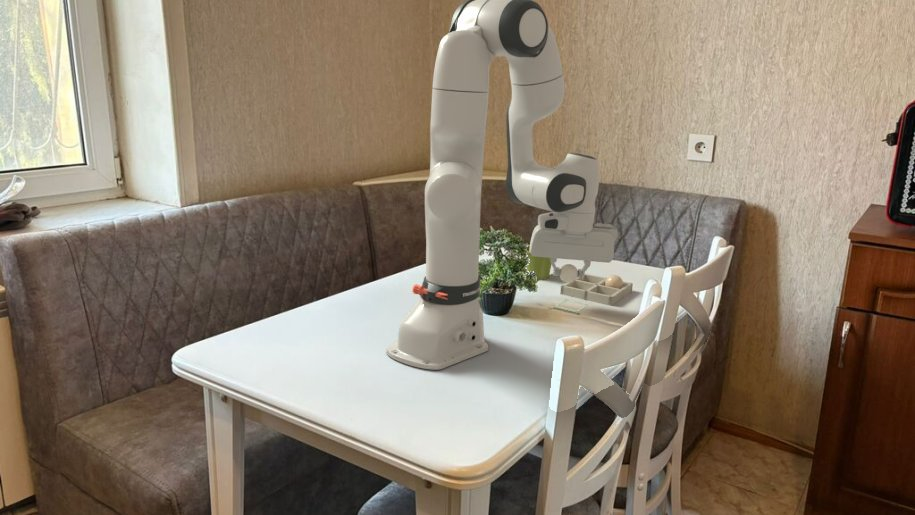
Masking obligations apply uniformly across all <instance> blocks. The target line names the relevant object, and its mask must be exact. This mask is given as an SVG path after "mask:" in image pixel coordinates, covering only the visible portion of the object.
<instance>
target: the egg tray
mask: <svg viewBox="0 0 915 515" xmlns="http://www.w3.org/2000/svg"><path fill="white" fill-rule="evenodd" d="M607 278H608V277H604V276H599V275H594V274H591V273H585V274H584V278H578V277H577V279H576V280H575V281H574V282H571V283H566V282H564V283H563V284H562V285H560V295H562V296H567V297H571V298H575V299H579V300H585V301H587V302H593V303H597V304H602V305H606V306H609V307H610V306H611V307H612V306H613V305H615V304H616V303H617V302H620V301H621V300H622V299H624V298H625V297H626V296H628V295H629V294H630V293H632V292H633V283H632V282H627V281H623V287H622V288H621V289H617V288H613V287H608V286H605V281H606V279H607Z"/></svg>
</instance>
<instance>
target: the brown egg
mask: <svg viewBox="0 0 915 515" xmlns="http://www.w3.org/2000/svg"><path fill="white" fill-rule="evenodd" d="M606 278H607V279H606V281H605V286H608V287H613V288H617V289H621V288H622V287H623V282H624V281H623V279H622V277H620V276H619V275H617V274H611V275H609V276H608V277H606Z"/></svg>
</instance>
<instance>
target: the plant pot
mask: <svg viewBox="0 0 915 515" xmlns="http://www.w3.org/2000/svg"><path fill="white" fill-rule="evenodd" d="M526 246H528V247H527V255H528V257H529V258H530V263H529V265H528V267H527V270H528V271H529V272H530V271H534V272H536V276H537V281H536V282H540V281H541V280H547V279H549V278H550V275H551V274H550V273H551V269H552V264H551V262H550V258H547V257H535V256H532V255H531V253H530V251H529V248H530V244H528V245H526Z"/></svg>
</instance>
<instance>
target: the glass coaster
mask: <svg viewBox="0 0 915 515" xmlns="http://www.w3.org/2000/svg"><path fill="white" fill-rule="evenodd" d="M567 301H568V302H571V303H576V304H581V305H583V306H582V307H580V308H578V309H572V308H567V307H563V306H560V305H562V304H563V303H565V302H567ZM588 306H589V304H588V303H583V302H579V301H574V300H570V299H565V298H564V299H563V300H561V301H560V302H558V303H556V304H554V307H553V309H554V310H556V311H561V312H564V313H568V314H572V315H577V316H578V315H579V314H580V311H582V310H583V309H585V308H586V307H588Z"/></svg>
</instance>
